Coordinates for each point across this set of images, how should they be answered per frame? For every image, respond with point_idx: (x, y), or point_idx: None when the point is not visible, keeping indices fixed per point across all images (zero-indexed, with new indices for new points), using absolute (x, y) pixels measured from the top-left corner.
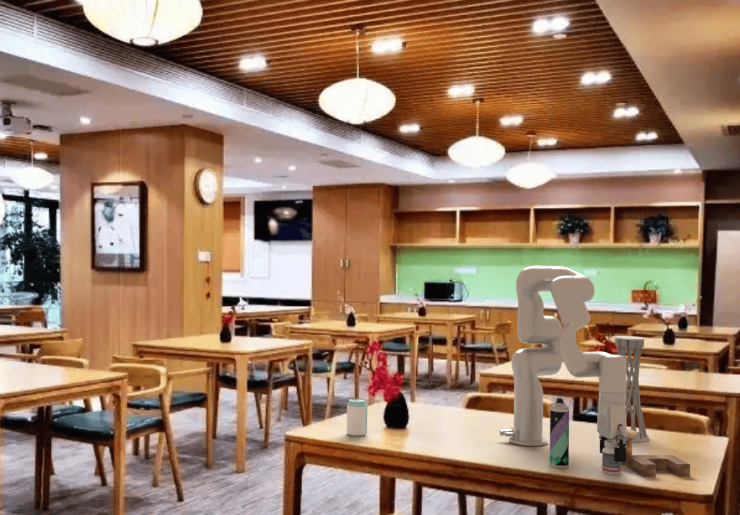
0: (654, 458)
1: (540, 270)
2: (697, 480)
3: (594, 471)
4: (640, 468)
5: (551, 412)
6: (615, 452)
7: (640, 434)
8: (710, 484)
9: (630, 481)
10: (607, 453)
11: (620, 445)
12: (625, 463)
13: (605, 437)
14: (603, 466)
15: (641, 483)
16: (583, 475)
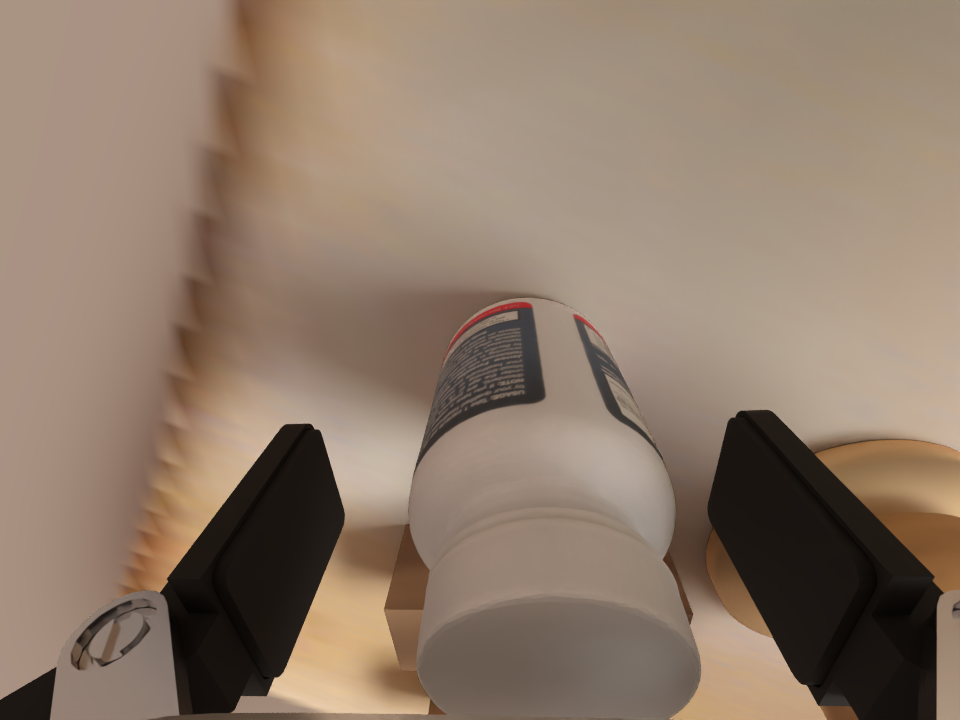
0: None
1: None
2: (378, 698)
3: (558, 220)
4: None
5: None
6: (226, 513)
7: None
8: (321, 709)
9: (273, 413)
10: (443, 434)
11: (28, 687)
12: (716, 545)
13: (896, 703)
14: (509, 318)
15: (242, 462)
16: (390, 6)
